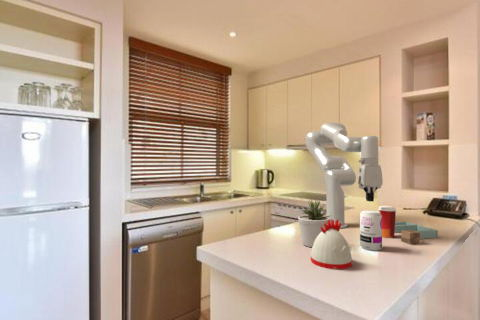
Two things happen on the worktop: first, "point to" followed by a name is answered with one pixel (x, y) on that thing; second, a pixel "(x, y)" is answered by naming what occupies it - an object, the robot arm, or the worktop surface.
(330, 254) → the white crested dome
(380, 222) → the supplement can
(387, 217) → the paper cup
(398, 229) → the caddy
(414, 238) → the walnut block
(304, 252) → the worktop surface
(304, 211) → the potted plant
